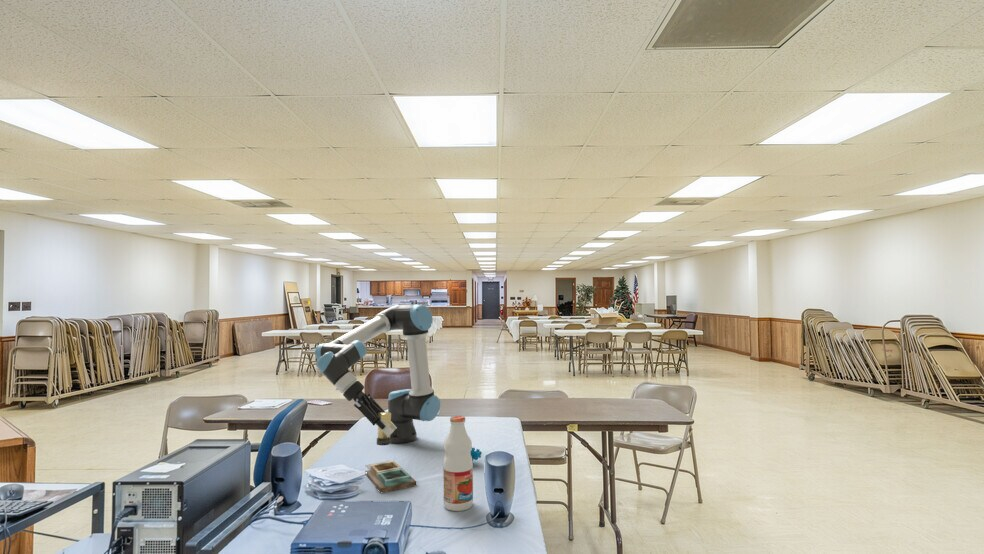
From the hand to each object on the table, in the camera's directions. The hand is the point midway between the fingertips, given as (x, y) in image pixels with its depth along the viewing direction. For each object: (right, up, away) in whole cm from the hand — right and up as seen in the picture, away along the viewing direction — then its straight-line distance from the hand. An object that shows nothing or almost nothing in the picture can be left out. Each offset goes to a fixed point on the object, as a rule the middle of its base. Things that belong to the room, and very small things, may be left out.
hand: (392, 432), depth 177 cm
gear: (+27, -18, +14) cm, 36 cm away
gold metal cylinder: (-3, -4, 0) cm, 5 cm away
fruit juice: (+26, -16, -25) cm, 39 cm away
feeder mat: (-7, -18, +11) cm, 22 cm away
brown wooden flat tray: (-1, -17, -2) cm, 17 cm away
